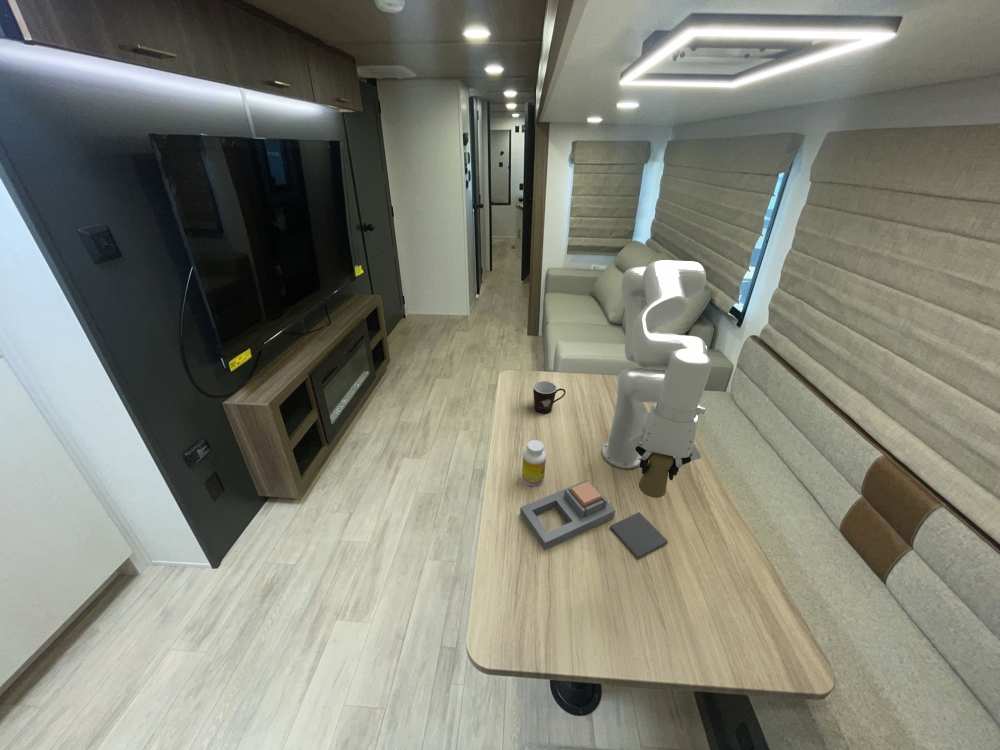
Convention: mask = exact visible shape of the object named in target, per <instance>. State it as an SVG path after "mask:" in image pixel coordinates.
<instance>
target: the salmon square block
mask: <svg viewBox="0 0 1000 750" xmlns="http://www.w3.org/2000/svg"><path fill="white" fill-rule="evenodd" d="M587 481H588V480H587ZM589 481H590V480H589ZM589 481H588V482H585V483H583V484H580V485H578V486H575V487H573V488H572V489H571V494H572V495H573V496H574V497H575V498H576V500H577V501H578V502H579V503H580V504H581V505H582V507H583V508H584V509H585V507H587V506H589V505H591V504H594V503H596V502H598V501H600V500H601V496H602V495H603V494H602V493H601V492H600V491H599V490H598V489H597V488H596V487H595V486H594V485H593V484H592V485H593V486H594V487H595V488H596V489H597V490H598V491H599V492H600V493H601V494H602V495H601V494H600V493H599V492H598V491H597V490H596V489H595V488H594V487H593V486H592V485H591V484H590V483H589Z"/></svg>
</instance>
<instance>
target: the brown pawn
mask: <svg viewBox="0 0 1000 750" xmlns="http://www.w3.org/2000/svg"><path fill="white" fill-rule="evenodd" d="M674 458H675V457H674V456H669V455H664V454H660V453H655V452H652V453H651V454H650V456H649V462H648V466H647V469H646V473H645V474H642V476H641V478H640V480H639V482H638V488H639V490H640V492H642V493H643V494H644V495H646V496H647V497H650V498H654V499H655V498H656V499H659V498H662V497H664V496H665V495H666V491H667V484H668V479H669V473H668V470H669V468H670V467H671V466H672V465H673V462H674Z"/></svg>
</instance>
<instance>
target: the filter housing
mask: <svg viewBox="0 0 1000 750" xmlns="http://www.w3.org/2000/svg"><path fill="white" fill-rule="evenodd" d="M588 481H589V483H590V484H591V485H592V486H593V487H594V488H595V489H596V490H597V491H598V492H599V493H600V494H601V495H602V496H601V500H600V501H598V502H596V503H594V504H591V505H589V506H587V507H585V509H584V508H583V507H582V505H581V504H580V503H579V502H578V501H577V500H576V498H575V497H574V496H573V495H572V494H571V489H572V488H573V487H575V486H578V485H580V484H583V483H585V482H588ZM553 509H555V510H556V511H557V512H558V514H559V515H560V516H561V517H562V518H563V520H564V522H566V523H565V524H562V525H561V526H558V527H557V528H554V529H552V530H550V531H547V529H546V528H545V526H544V525H543V523H542V521H540V519H539V518H538V516H539V515H542V514H545V513H546V512H549V511H552V510H553ZM519 513H520V514H519V516H520V517H521V518H522V520H523V521H524V523H525V524H526V526H527V527H528V529H529V530H530V532H531V533H532V535H533V536H534V537H535V539H536V541H537V542H538V543H539V545H540V546H541V548H542V549H543V551H546V550H547V551H548V550H549V549H550V548H552V547H553V548H554V546H555V547H556V546H558V545H560V544H561V543H563V542H566V541H568V540H571V539H572V538H574V537H577V536H578V535H581V534H583V533H585V532H587V531H589V530H591V529H593V528H595V527H597V526H600V525H601V524H604V523H606V522H608V521H610V520H611V521H612V520H613V519H614V518H615V514H616V509H615V508H614V507H613V506H612V505H611V504H610V503H609V502H608V499H607V498H606V497H605V496H604V495H603V494H602V493H601V492H600V491H599V490H598V489H597V488H596V487H595V486H594V484H592V482H591V481H590V480H585V481H581V482H579V483H576V484H574V485H572V486H569V487H567V488H565V489H563V490H559V491H557V492H555V493H552V494H549V495H548V496H546V497H542V498H539V499H538V500H535V501H533V502H531V503H528V504H525V505H522V506H521V507H520V512H519Z"/></svg>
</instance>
